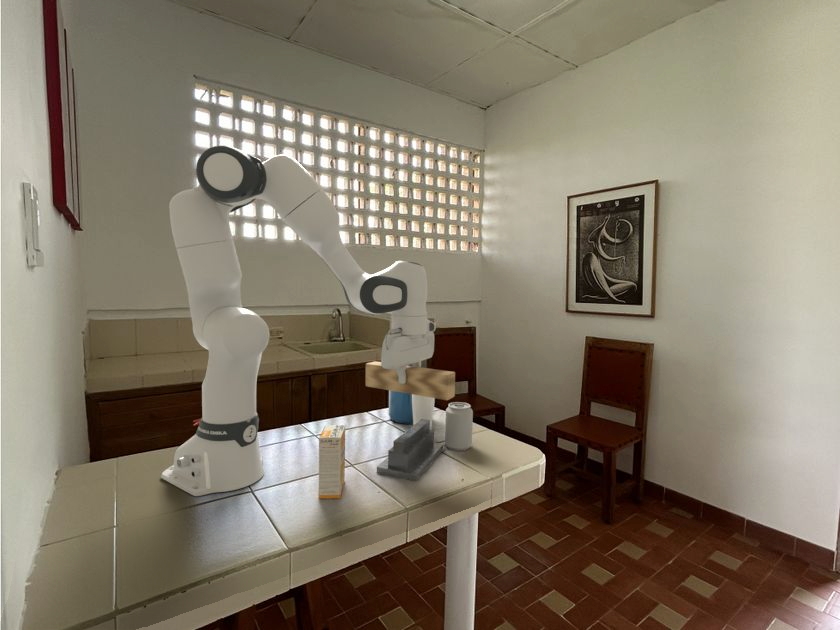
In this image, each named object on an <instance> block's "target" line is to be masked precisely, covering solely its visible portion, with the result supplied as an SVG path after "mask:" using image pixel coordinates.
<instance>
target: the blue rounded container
mask: <svg viewBox="0 0 840 630" xmlns="http://www.w3.org/2000/svg"><path fill="white" fill-rule="evenodd" d="M407 366H413V365H412V364H410V365H407ZM421 368H425V366H423V365H422V364H421ZM388 416H389V418H390V420H391V421H393V422H395V423H398V424H399V423H400V424H406V425H407V424H409V425H413V411H412V394H408V393H402V392H397V391H391V390H388Z"/></svg>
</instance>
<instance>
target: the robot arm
mask: <svg viewBox="0 0 840 630" xmlns="http://www.w3.org/2000/svg"><path fill="white" fill-rule="evenodd" d="M195 175H196V179H197V182H198V185H197V186H196V187H195V188H191V189H185V190H182V191H180V192H177V193H176V194H175V195H173V197H172V198H171V199H170V201H169V209H168V210H169V219H170V228H171V233H172V237H173V242H174V247H175V249H176V252H177V258H178V260H179V264H180V267H181V271H182V274H183V278H184V280H185V286H186V290H187V295H188V305H189V313H190V318H191V322H192V324H191V325H192V332H193V335H194V338H195V340H196V341H197V343H198V344H199V345H200V346H201V347H202V348H204V349H206V350H208V360H207V366H206V373H205V376H204V379H203V381H202V384H201V407H202V408H201V409H202V410H201V411H202V412H201V413H202V417H201V418H198V419H195V420H193V421H192V422H193V423H194V422H195V423H194V424H193V426H197V425H198V426H197V428H196V429H197V430H196V433H195V434H194V435H193V436H191V437H190V438H189V439H187V440H186V441H185V442H184V443H183V444H181V445H180V446H179V447H178V448H177V449H176V451H175V453H174V457H173V465H171V466H169V467H168V468H166V469H165V470H164V471H162V473H161V477H160V478H161V479H162V480H164V481H166V482H168V483H169V484H171V485H172V486H175V487H177V488H179V489H180V490H182V491H184V492H186V493H188V494H189V495H192V496H194V497H200V496H205V495H208V494H214V493H222V492H223V493H224V492H230V491H235V490H240V489H242V488H246V487H248V486H250V485H252V484H255V483H256V482H258V481H259V480H260V479H261V478H263V477H264V474H265V470H264V467H263V463H264V461H263V457H262V456H261V450H260V440H259V434H258V431H259V422H260V418H259V414H258V412H257V381H258V380H257V379H258V373H259V369H260V365H261V360H262V357H263V352H264V351H265V350H266V348H267V346H268V344H269V342H270V335H271V334H270V330H269V326H268V324H267V323H266V321H265V320H264V319H263V318H262V317H261V316H260V315H259V314H257V313H256V312H254V311H253V310H250V309H247V308H243V304H242V296H241V294H242V293H241V289H242V288H241V283H242V278H243V272H242V269H241V264H240V261H239V257H238V254H237V250H236V245H235V241H234V237H233V235H232V231H231V225H230V218H229V217H230V214H231V213H233V212H235V211H238V210H240V209H242V208H244V207H245V206H248V205H250V204H252V203H253V202H254V201H255V200H256V199H258V200H262V201H265V202H266V203H267V204H269V206H271V207H272V208H273V209H274V210H275V212H276V213H277V214H278V215H279V216H280V217H281V219H282V220H283V221H284V222H285V224H286V225H287V226H288V227H289V228H290V229H291V230H292V232H294V233H295V234H296V235H297V236H298V237H299V238H300V239H301V240H302V241H304V242H305V244H307V246H309V247H310V248H311V249H312V250H313V251H314V252H315V253H317V254H318V256H319V257H320V258H321V260H322V261H323V262H324V264H326V265H327V267H328V268H329V270H330V271H331V272H332V273H333V274H334V276H335V277H336V279H338V282H340V285H341V286H342V289H343V293H344V296H345V299H346V301H347V303H348V305H349V306H350V307H351V309H353V310H354V311H356V312H358V313H362V314H363V313H364V314H373V315H383V314H387V313H391V329H389V330H388V332H387V333H386V335H384V339H383V342H382V345H381V346H382V347H381V356H380V362H381V365H382V367H383V368H384V369H391V370H395V369H396V372H397V374H398V376H399V383H401V384H404V383H407V382H408V380H407V379H408V376H406V374H405V370H406V366H407V365H410V364H412V365H413V366H414V367H421V365H422V361H425V360H429V359H430V358H432V357H433V355H434V352H435V333H434V332H435V331H436V329H437V328H436V323H435V322H433V321H431V320H429V319H428V311H427V300H428V278H427V272H426V269H425V267H424V266H423V265H422V264H420V263H417V262H414V261H409V260H407V261H406V260H398V261H395V262H394V263H393V264H392V265H391V266H388V267H387V268H385V269H382V270H381V271H378V272H375V273H372V274H370V273H368V272H366V271H365V270H363V269H362V268H361V267H360V266H359V264H358V263H357V262H356V260H355V258H354V257H353V256H352V255H351V253H350V252H349V250H348V249H347V248H346V246H345V245H344V243H343V241H342V238H341V234H340V214H339V213H338V212H339V211H338V210H337V209H336V207H335V205H334V203H333V201H332V200H331V198H330V197H329V195H328V194H327V193H326V191H325V190H324V189H323V188H322V186H321V185H320V184H319V182H318V181H317V180H316V179H315V178H314V177H313V175H311V173H310V172H308V170H307V169H305V168H304V167H303V166H302V164H300V162H298V161H297V160H296V159H295V158H294V157H292V156H290V155H287V154H278V155H274V156H271V157H270V158H269V159H267V160H265V161H263V162H262V160H261V159H260V158H258V157H255V156H253V155H252V154H249V153H247V152H245V151H244V150H241V149H238V148H236V147H233V146H228V145H215V146H211V147H209V148H207V149H206V150H205V151H203V152H202V153H201V154H200V155H199V157H198V160H197V162H196V166H195Z"/></svg>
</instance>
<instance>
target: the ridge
mask: <svg viewBox="0 0 840 630" xmlns="http://www.w3.org/2000/svg"><path fill="white" fill-rule="evenodd" d="M444 444H445V443H444ZM444 444H443V443H437V442H435V429H430V420H425V419H421V420H420V421H419V422H417V423H416V424H415V425H413V424H412V426H411V427H409V428H408V429H407V430H406V431H404V432H403V433H402V434H401V435H399V437H397V438H395V439H394V440H393V446H392V447H391V448H390V449H388V450H387V452H388V453H387V454H388V455H387V456H388V457H386V458H385V459H384V460H383V461H382V462H381V463H379V464H378V465H377V466H376V474H380V475H386V476H390V477H395V478H399V479H404V480H408V481H413V482H416V481H417V480H418V479H419V478H420V477H421V476H422V475H423V473H424V472H425V471H426V470H427V469H428V468H429V467H430V465H431V464H433V462H434V461H435V460H436V459H437V458H438V457H439V455H440V454H441V453H442V452H443V451H444ZM428 466H429V467H428Z"/></svg>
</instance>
